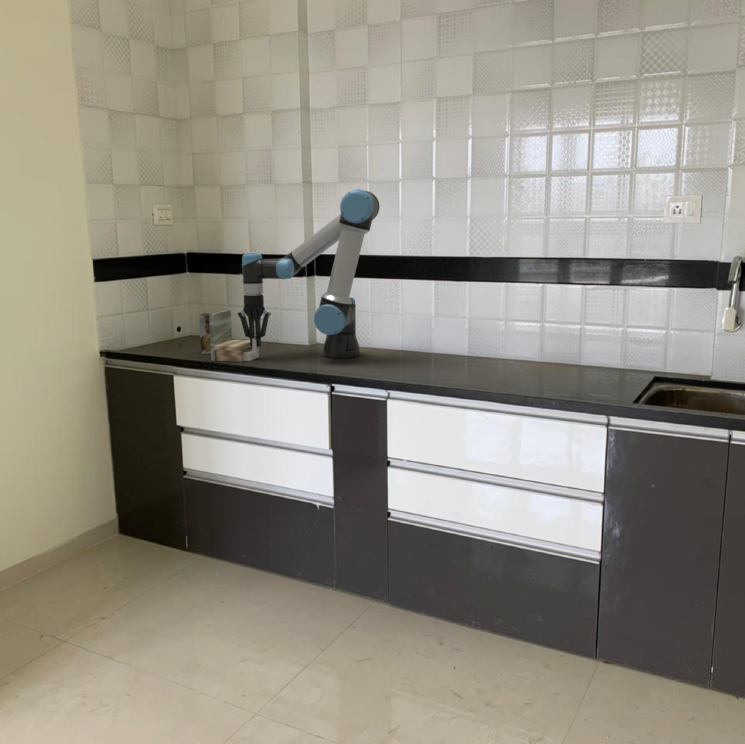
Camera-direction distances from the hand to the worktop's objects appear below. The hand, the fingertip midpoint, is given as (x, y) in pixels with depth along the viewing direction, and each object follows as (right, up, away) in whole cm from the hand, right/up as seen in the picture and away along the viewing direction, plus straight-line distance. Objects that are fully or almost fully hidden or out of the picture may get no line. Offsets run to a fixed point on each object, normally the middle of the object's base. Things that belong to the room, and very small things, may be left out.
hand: (256, 354), depth 288 cm
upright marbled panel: (-8, -1, +3) cm, 9 cm away
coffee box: (-20, +1, +15) cm, 25 cm away
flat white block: (-6, -1, +2) cm, 6 cm away
